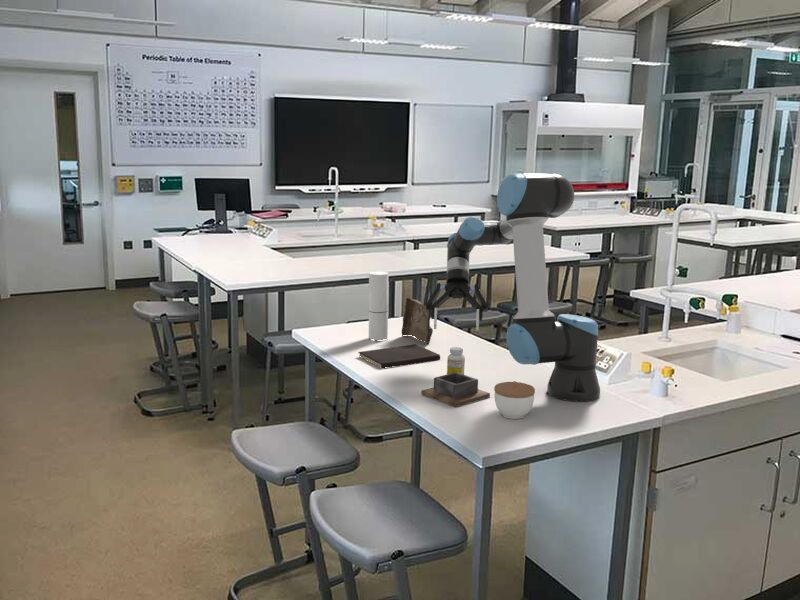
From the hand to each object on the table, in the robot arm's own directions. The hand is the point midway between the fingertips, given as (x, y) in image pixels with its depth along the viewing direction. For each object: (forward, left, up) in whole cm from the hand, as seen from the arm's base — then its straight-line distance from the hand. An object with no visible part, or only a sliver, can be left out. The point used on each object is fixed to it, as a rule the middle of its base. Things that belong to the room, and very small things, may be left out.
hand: (456, 327), depth 238 cm
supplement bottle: (-7, +7, -14) cm, 17 cm away
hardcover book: (+21, +6, -15) cm, 26 cm away
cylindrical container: (+46, -5, -14) cm, 48 cm away
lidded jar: (-40, +18, -14) cm, 46 cm away
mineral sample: (+35, -15, -14) cm, 41 cm away
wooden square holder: (-19, +19, -14) cm, 30 cm away
